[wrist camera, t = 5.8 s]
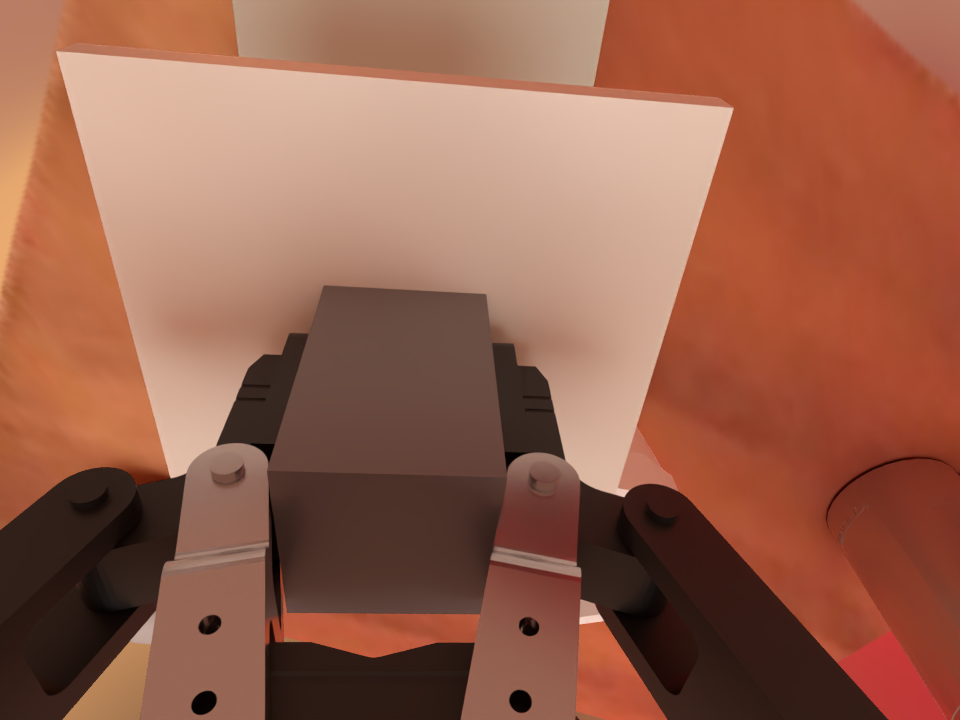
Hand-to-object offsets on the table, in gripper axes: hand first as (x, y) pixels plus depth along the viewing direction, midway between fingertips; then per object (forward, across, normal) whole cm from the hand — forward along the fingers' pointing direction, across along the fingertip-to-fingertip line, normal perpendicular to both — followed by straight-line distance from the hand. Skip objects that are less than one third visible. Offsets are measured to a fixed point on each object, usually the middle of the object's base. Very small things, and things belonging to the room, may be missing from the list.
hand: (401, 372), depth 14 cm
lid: (+1, 0, 0) cm, 1 cm away
